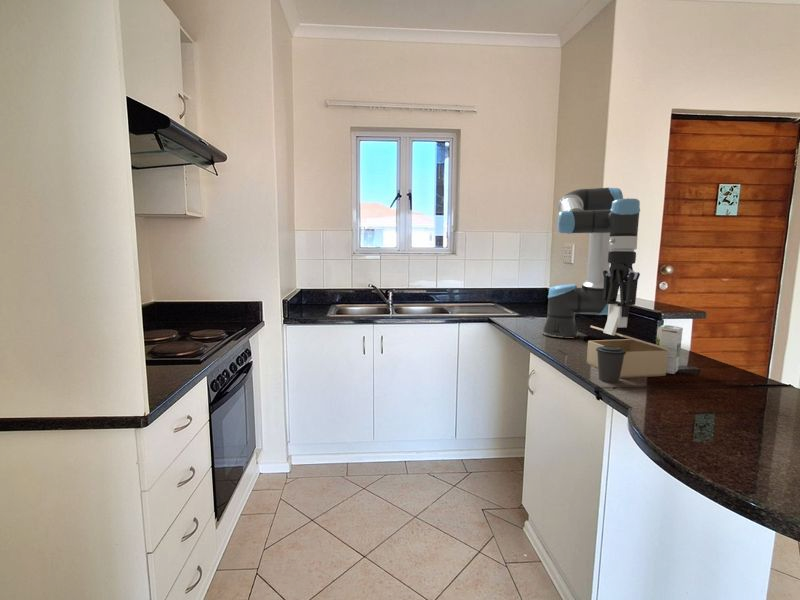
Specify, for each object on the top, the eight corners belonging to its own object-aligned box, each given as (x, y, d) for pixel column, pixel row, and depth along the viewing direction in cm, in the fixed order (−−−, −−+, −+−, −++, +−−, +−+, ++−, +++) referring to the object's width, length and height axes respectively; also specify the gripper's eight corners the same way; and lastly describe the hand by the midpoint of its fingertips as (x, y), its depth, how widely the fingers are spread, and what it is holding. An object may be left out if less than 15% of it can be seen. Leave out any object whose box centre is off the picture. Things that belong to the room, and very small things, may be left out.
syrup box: (657, 367, 132) (661, 324, 130) (679, 371, 128) (683, 326, 126) (653, 370, 128) (656, 326, 126) (675, 374, 124) (679, 329, 122)
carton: (586, 363, 136) (588, 340, 135) (628, 361, 139) (630, 339, 138) (618, 378, 120) (620, 352, 119) (665, 375, 123) (667, 350, 122)
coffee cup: (630, 383, 115) (633, 350, 114) (605, 384, 114) (607, 351, 113) (612, 375, 123) (614, 343, 122) (588, 376, 122) (590, 344, 121)
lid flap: (587, 327, 134) (595, 302, 134) (630, 340, 137) (639, 315, 137) (618, 337, 119) (628, 308, 118) (666, 351, 122) (676, 323, 122)
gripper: (593, 250, 129) (588, 321, 132) (631, 250, 113) (625, 331, 115) (614, 250, 130) (609, 320, 133) (654, 250, 114) (648, 330, 116)
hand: (616, 325), depth 124 cm, fingers closed on lid flap, 4 cm apart
